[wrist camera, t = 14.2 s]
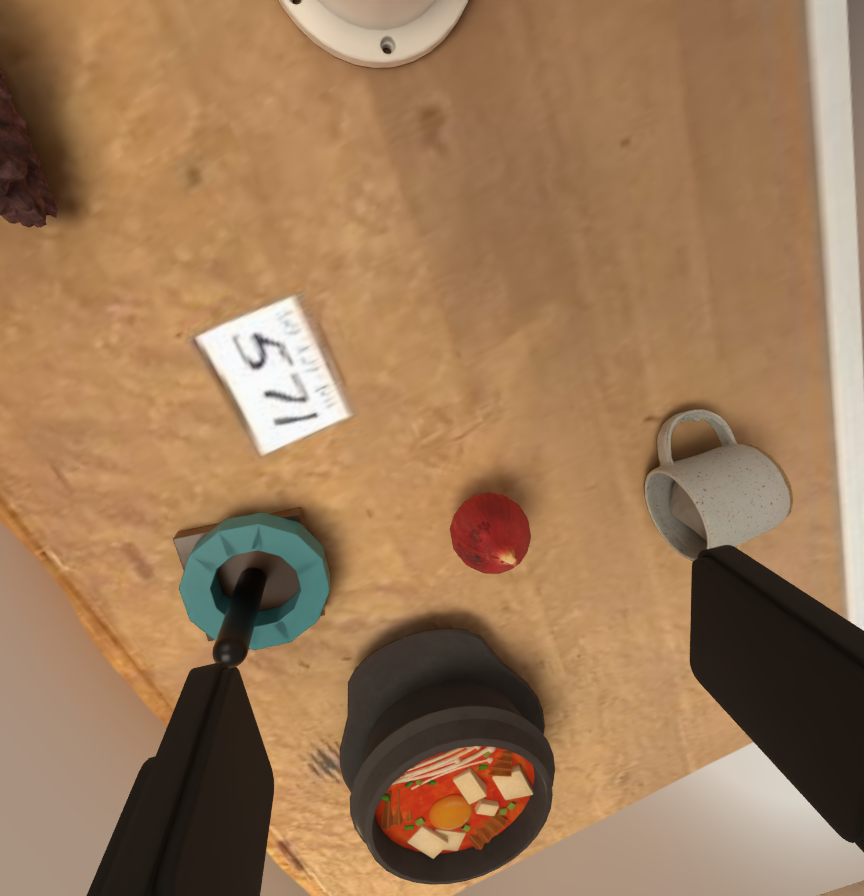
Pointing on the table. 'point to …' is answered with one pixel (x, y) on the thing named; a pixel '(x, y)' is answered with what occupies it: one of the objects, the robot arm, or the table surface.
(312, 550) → the ring
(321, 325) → the table surface
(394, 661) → the casserole
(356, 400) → the table surface
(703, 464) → the ceramic mug
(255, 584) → the stand
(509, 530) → the onion
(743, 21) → the table surface
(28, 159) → the pine cone
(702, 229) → the table surface
